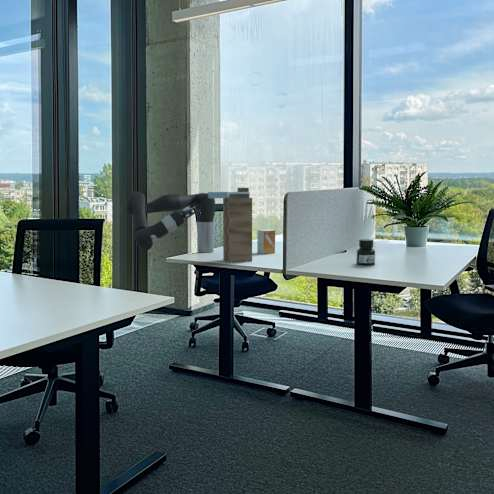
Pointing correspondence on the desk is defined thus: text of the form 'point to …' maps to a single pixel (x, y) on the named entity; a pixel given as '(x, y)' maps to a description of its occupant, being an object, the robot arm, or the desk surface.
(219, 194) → the pale blue long bar
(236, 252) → the stand
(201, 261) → the desk surface
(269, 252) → the small box
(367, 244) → the ink bottle
